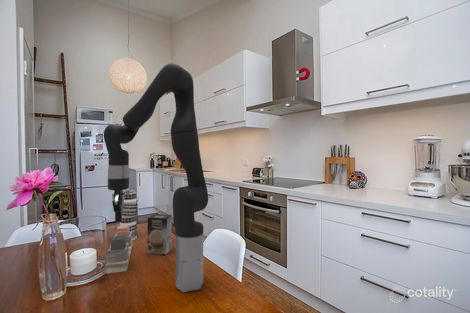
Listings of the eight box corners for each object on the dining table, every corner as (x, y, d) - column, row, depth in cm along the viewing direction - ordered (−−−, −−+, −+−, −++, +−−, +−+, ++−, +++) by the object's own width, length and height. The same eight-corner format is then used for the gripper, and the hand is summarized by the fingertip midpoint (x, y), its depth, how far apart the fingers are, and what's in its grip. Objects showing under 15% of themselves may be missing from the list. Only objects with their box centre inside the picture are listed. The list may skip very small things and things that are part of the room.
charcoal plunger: (123, 251, 89) (123, 239, 89) (111, 253, 87) (111, 240, 87) (125, 247, 93) (125, 235, 93) (113, 248, 92) (113, 236, 91)
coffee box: (146, 254, 101) (146, 217, 101) (153, 248, 108) (153, 213, 107) (166, 255, 100) (166, 218, 100) (172, 249, 107) (172, 214, 106)
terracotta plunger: (127, 238, 102) (127, 228, 102) (116, 239, 101) (116, 229, 100) (128, 235, 106) (128, 225, 106) (118, 236, 105) (118, 226, 105)
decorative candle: (119, 236, 123) (119, 188, 122) (138, 234, 125) (138, 188, 125) (116, 242, 114) (116, 191, 114) (136, 240, 117) (136, 191, 116)
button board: (126, 270, 87) (126, 250, 87) (105, 273, 84) (105, 253, 84) (132, 246, 109) (132, 230, 109) (115, 248, 107) (115, 232, 107)
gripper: (127, 178, 85) (127, 225, 85) (130, 174, 97) (130, 215, 98) (104, 179, 82) (104, 227, 83) (110, 175, 95) (110, 217, 95)
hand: (118, 221), depth 90 cm, fingers closed
